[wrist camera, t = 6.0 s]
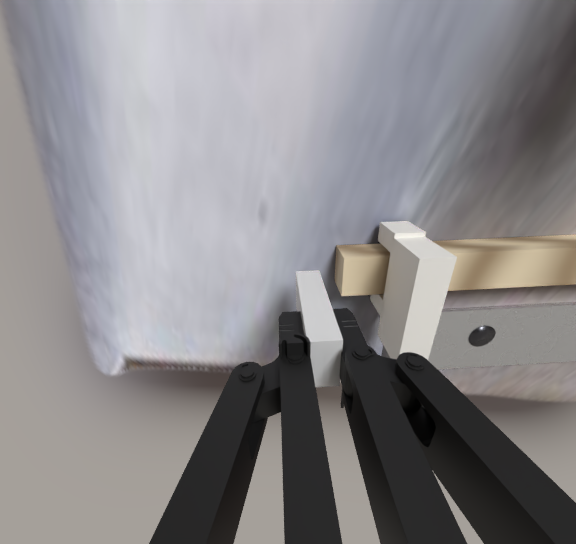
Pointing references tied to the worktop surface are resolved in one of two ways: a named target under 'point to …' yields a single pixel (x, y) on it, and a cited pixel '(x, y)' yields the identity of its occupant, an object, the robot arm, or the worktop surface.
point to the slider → (411, 289)
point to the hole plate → (505, 336)
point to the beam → (468, 264)
